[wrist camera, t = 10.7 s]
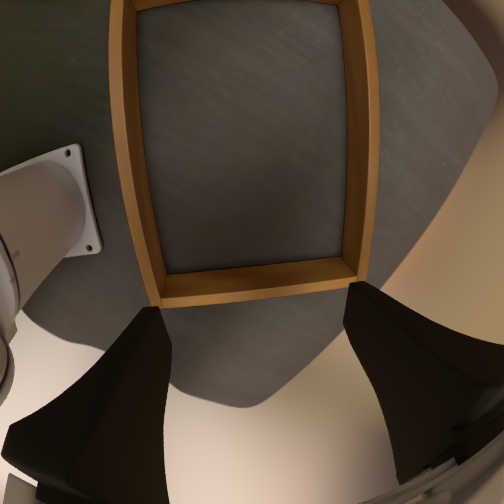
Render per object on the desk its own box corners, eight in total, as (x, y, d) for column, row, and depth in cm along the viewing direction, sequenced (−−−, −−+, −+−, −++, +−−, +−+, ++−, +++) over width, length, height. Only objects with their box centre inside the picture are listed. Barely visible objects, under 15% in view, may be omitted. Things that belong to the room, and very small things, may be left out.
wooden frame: (159, 284, 20) (152, 309, 17) (126, 5, 10) (112, -11, 7) (348, 263, 21) (365, 284, 18) (346, -1, 11) (365, -15, 9)
